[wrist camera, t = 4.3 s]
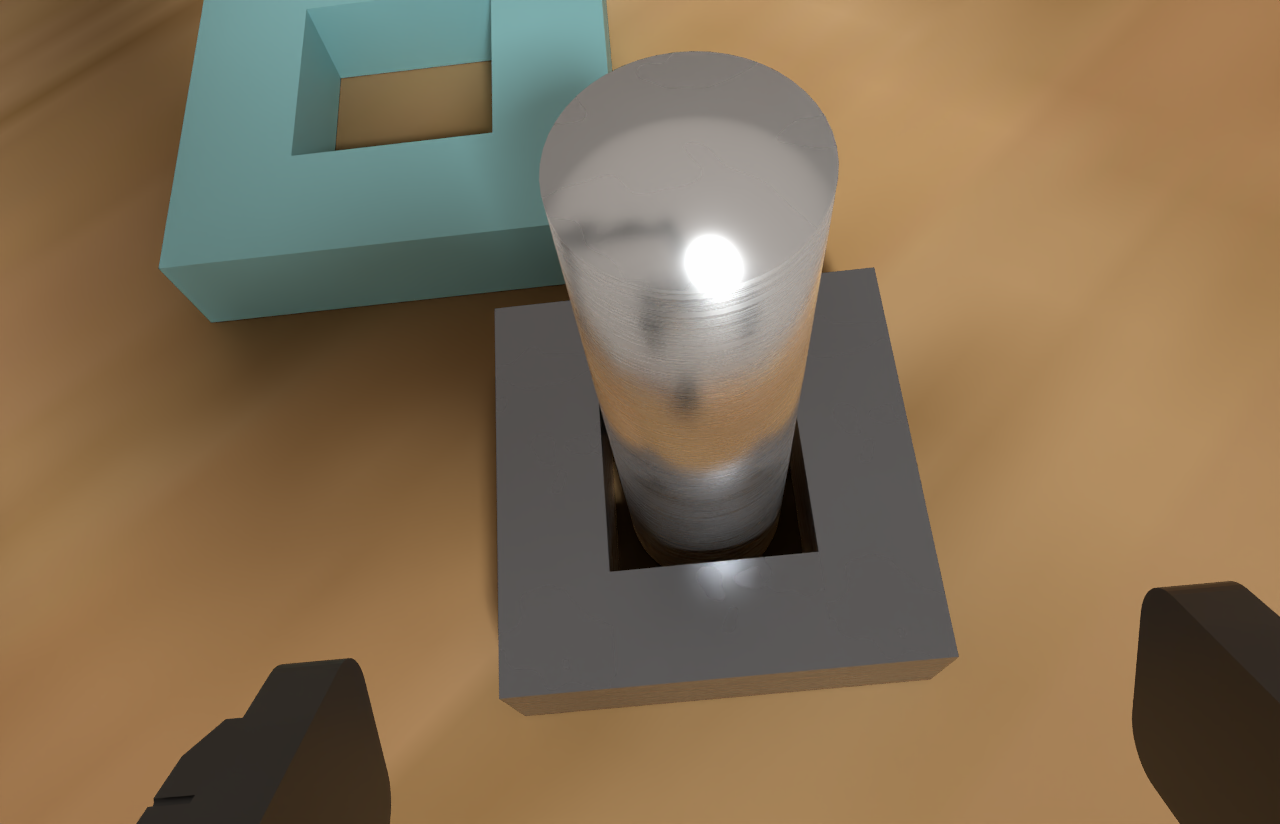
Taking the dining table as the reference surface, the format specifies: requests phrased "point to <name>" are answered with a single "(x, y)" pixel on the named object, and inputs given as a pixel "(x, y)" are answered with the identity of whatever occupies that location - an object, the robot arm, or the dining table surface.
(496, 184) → the block
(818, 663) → the socket block
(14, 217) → the dining table surface
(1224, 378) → the dining table surface
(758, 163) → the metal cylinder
